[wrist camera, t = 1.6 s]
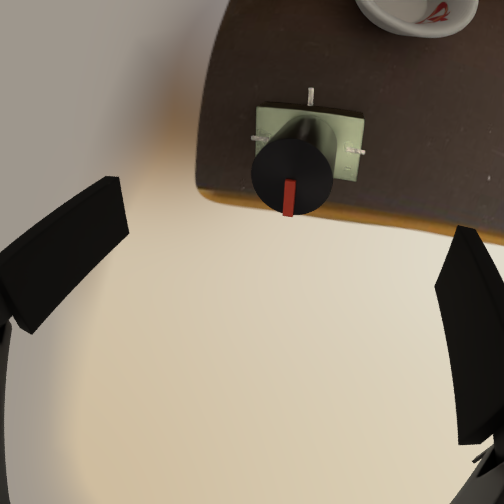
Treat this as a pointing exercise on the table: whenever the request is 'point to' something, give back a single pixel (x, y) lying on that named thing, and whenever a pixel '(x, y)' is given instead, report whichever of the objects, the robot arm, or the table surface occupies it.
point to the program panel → (341, 121)
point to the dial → (296, 166)
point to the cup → (420, 16)
